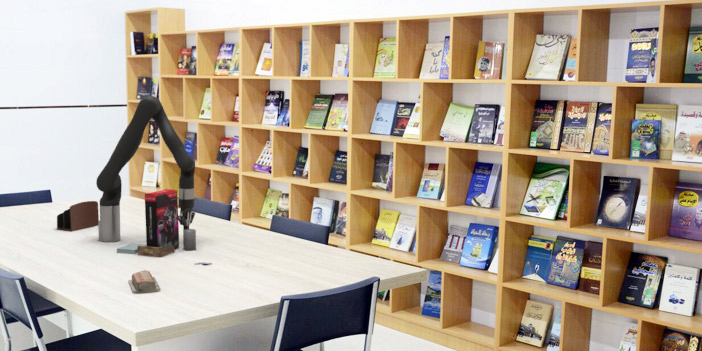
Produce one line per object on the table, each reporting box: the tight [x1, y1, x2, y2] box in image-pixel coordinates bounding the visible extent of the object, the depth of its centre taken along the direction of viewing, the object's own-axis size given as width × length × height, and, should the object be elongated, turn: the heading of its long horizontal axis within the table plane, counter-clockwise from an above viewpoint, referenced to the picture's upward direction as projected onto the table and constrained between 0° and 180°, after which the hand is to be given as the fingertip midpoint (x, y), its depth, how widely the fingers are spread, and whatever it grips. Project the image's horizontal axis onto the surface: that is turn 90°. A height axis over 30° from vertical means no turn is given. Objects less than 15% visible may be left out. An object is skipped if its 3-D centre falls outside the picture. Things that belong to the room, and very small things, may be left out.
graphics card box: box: [144, 188, 180, 249], centre depth 346 cm, size 17×7×27 cm, turn 159°
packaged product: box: [128, 269, 161, 294], centre depth 287 cm, size 18×5×10 cm
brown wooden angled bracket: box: [137, 245, 175, 258], centre depth 341 cm, size 12×11×4 cm
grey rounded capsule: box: [182, 228, 197, 252], centre depth 351 cm, size 6×6×9 cm
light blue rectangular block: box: [116, 242, 147, 255], centre depth 347 cm, size 9×13×2 cm
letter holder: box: [56, 200, 100, 233], centre depth 397 cm, size 10×20×14 cm, turn 156°
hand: (186, 233), depth 365 cm, fingers closed
